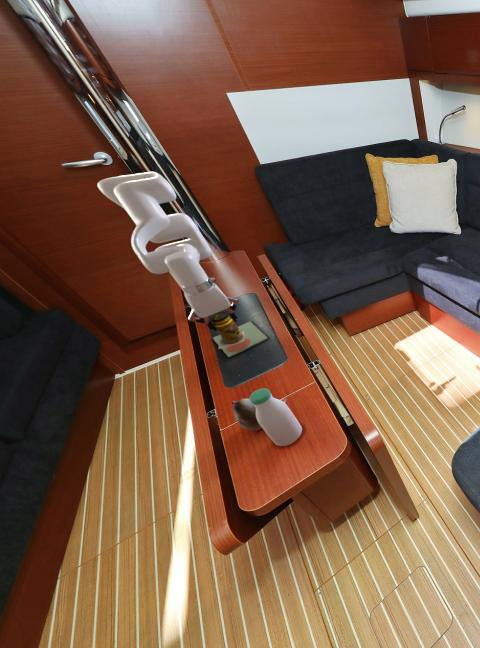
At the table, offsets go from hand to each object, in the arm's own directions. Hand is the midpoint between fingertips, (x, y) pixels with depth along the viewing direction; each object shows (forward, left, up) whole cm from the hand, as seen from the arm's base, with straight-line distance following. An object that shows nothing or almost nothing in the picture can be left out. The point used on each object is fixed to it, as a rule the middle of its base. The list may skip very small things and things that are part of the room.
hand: (224, 324), depth 125 cm
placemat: (-5, +2, -11) cm, 12 cm away
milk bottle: (+57, -6, -11) cm, 59 cm away
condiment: (0, -1, -7) cm, 8 cm away
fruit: (+45, -9, -12) cm, 48 cm away
